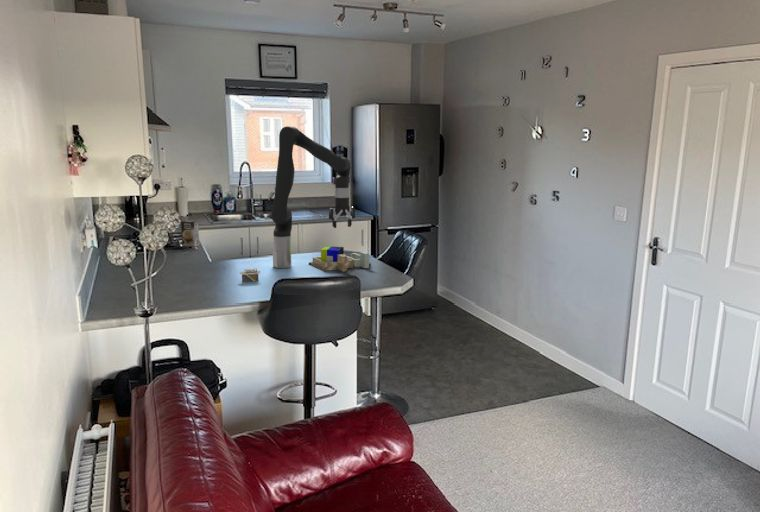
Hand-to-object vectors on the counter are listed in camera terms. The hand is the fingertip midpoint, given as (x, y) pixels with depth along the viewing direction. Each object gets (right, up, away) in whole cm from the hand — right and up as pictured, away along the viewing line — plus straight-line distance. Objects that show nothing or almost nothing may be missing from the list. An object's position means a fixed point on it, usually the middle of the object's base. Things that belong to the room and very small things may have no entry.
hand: (342, 227), depth 296 cm
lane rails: (-2, -20, +17) cm, 27 cm away
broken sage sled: (+7, -20, +19) cm, 29 cm away
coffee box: (-102, -9, +68) cm, 124 cm away
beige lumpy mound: (-5, -21, +12) cm, 25 cm away
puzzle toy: (-6, -21, +14) cm, 26 cm away
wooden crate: (-44, -28, -19) cm, 56 cm away
